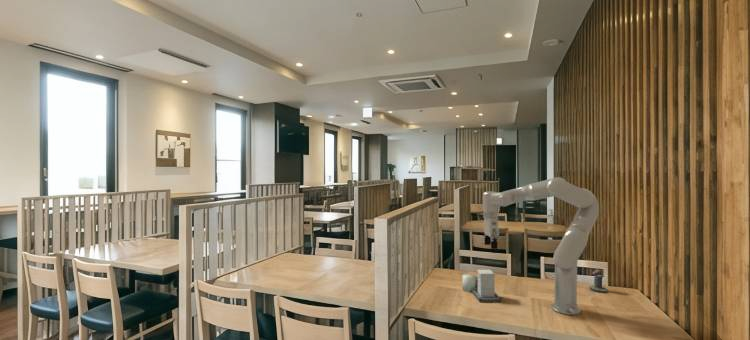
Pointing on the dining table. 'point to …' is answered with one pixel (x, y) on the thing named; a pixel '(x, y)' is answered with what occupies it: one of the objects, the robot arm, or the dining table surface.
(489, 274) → the supplement box
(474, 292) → the slate tray
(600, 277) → the figurine
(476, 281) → the walnut block
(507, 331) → the dining table surface
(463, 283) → the pale green rounded block
